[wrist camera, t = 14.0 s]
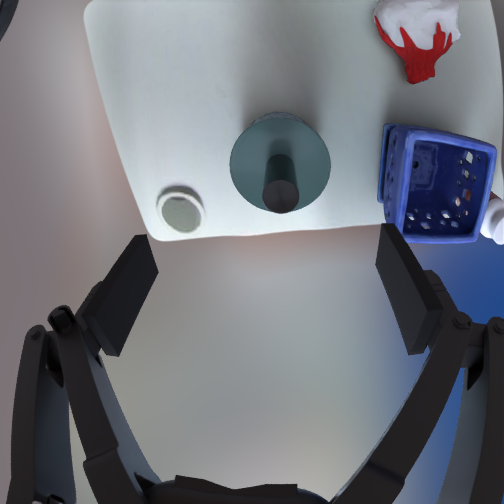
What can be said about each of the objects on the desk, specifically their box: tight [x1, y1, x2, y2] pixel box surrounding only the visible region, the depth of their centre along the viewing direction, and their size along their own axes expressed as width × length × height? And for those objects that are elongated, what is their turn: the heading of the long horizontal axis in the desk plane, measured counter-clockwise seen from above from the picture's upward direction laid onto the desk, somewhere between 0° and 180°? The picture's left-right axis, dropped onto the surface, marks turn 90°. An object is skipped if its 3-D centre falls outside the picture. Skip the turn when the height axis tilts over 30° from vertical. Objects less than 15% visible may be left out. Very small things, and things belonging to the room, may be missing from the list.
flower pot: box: [377, 123, 497, 244], centre depth 31 cm, size 13×13×12 cm
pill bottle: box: [456, 190, 504, 244], centre depth 33 cm, size 6×6×11 cm
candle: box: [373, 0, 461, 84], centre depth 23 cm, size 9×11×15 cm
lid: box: [230, 117, 331, 214], centre depth 27 cm, size 11×11×9 cm
